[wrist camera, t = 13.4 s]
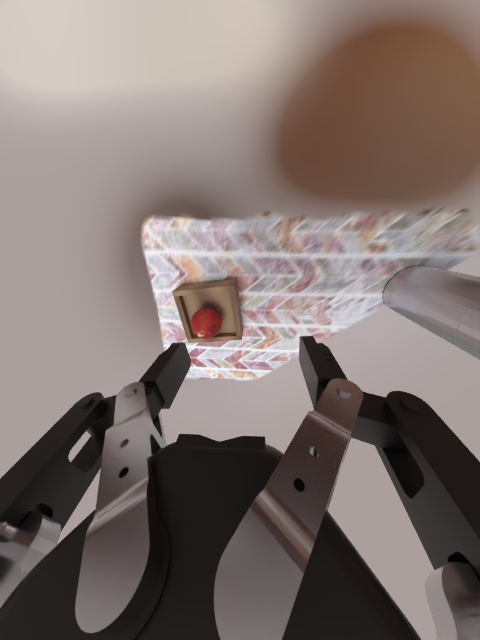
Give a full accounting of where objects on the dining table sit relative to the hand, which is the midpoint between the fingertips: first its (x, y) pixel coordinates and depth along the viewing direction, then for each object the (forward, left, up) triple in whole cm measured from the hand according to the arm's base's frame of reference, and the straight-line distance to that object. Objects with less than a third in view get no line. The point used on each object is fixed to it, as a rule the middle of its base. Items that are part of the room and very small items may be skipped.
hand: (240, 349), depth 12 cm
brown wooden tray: (+9, +7, -26) cm, 28 cm away
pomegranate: (+9, +7, -22) cm, 25 cm away
